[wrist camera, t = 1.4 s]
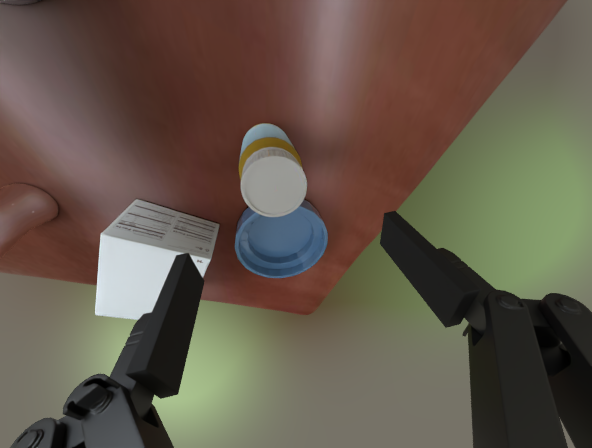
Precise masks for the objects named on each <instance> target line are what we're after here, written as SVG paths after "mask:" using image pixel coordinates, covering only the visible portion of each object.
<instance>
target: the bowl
mask: <svg viewBox="0 0 592 448" xmlns="http://www.w3.org/2000/svg"><path fill="white" fill-rule="evenodd" d="M327 243H328V232H327V229H326V227H325V224H324V222H323V220H322V218H321V216H320V214H319V212H318V211H317V210H316V208H315V207H314V206H313V205H312V204H311V203H310V202H308V201H306V200H303V201H302V203H301V204H300V206H299V207H298V208H297V209H295V210H294V211H293V212H291V213H289V214H287V215H284V216H280V217H267V216H263V215H260V214H258V213H256V212H255V211H253V210H252V209H251V208H250V207H248V208H247V209H246V210H245V211H244V212H243V214H242V215H241V217H240V219H239V221H238V223H237V229H236V238H235V251H236V254H237V257H238V259H239V261H240V262H241V263H242V264H243V265H244V267H245V268H246V269H248V270H250V271H251V272H253V273H255V274H257V275H260V276H264V277H267V278H284V277H290V276H294V275H297V274H299V273H302V272H304V271H306V270H307V269H309V268H310V267H312V266H313V265H314V264H316V263H317V261H318V260H319V259H320V258H321V257H322V255H323V254H324V251H325V249H326V246H327Z"/></svg>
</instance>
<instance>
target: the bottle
mask: <svg viewBox="0 0 592 448" xmlns="http://www.w3.org/2000/svg"><path fill="white" fill-rule="evenodd" d="M239 176H240V179H241V191H242V196H243V198H244V201H245V202H246V204H247V205H248V206H249V207H250V208H251V209H252V210H253V211H255V212H256V213H258V214H260V215H263V216H267V217H280V216H284V215H287V214H289V213H291V212H293V211H294V210H295V209H297V208H298V207H299V206H300V204H301V203H302V201H303V200H304V198H305V195H306V191H307V181H306V180H307V179H306V176H305V173H304V171H303V169H302V163H301V159H300V157H299V155H298V153H297V151H296V150H295V148H294V147H293V145H292V143H291V142H290V140H289V139H288V137H287V136H286V134H285V133H284V131H283V130H281V129H280V128H279V127H277V126H275V125H273V124H269V123H261V124H258V125H255V126H253V127H252V128H251V129H250V130H249V131H248V132H247V133H246V135H245V137H244V139H243V143H242V148H241V154H240V160H239Z"/></svg>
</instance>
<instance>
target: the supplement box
mask: <svg viewBox="0 0 592 448" xmlns="http://www.w3.org/2000/svg"><path fill="white" fill-rule="evenodd" d="M218 230H219V224H217V223H213V222H210V221H207V220H204V219H200V218H197V217H194V216H191V215H187V214H184V213H181V212H178V211H174V210H171V209H168V208H165V207H161V206H158V205H155V204H152V203H148V202H145V201H142V200H138V199H135V201H134V202H133V203H132V204H131V205H130V206H129V207H128V208H127V209H126V210H125V211H124V212H123V213H122V214H121V215H120V216H119V217H118V218H117V219H116V220H115V221H114V222H113V223H111V225H110V226H109V227H108V228H107V229H106V230H105V231H103V232H102V233H101V239H100V250H99V265H98V279H97V294H96V307H95V315H101V316H109V317H117V318H127V319H136V320H139V319H140V317H141V316H142V315H143V314H145V313H150V312H152V310H153V308H154V306H155V303H156V301H157V299H158V296H159V294H160V292H161V289H162V287H163V285H164V282H165V280H166V278H167V275H168V273H169V271H170V268H171V266H172V264H173V262H174V259H175V257H176V255H180V254H185V253H189V255H190V256H191V258H192V260H193V262H194V263H195V265H196V267H197V269H198V270H199V272H200V274H201V276H202V278H203V276H204V274H205V271H206V269H207V267H208V265H209V263H210V261H211V258H212V254H213V250H214V246H215V242H216V238H217V234H218Z"/></svg>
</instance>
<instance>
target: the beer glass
mask: <svg viewBox="0 0 592 448" xmlns="http://www.w3.org/2000/svg"><path fill="white" fill-rule="evenodd" d="M58 212H59V209H58V205H57V203H56V202H55V200H54V199H53V198H52V197H51V196H50V195H49V194H47V193H46V192H44V191H43V190H41V189H39V188H37V187H34V186H31V185H27V184H22V183H14V184H9V185H6V186H4V187H3V188H1V189H0V259H1V258H3V257H4V256H5V255H6V254H7V253H8V252H9V251H10V250H11V249H12V248H13V247H14V246H15V245H16V244H17V243H18V242H19V240H20V239H21V238H22V237H23V236H24V235H25V234H26V233H27V232H29V231H30V230H31V229H33V228H34V227H36V226H38V225H40V224H43V223H45V222H48V221H50V220H52V219H54V218H55V217H56V216H57V214H58Z"/></svg>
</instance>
